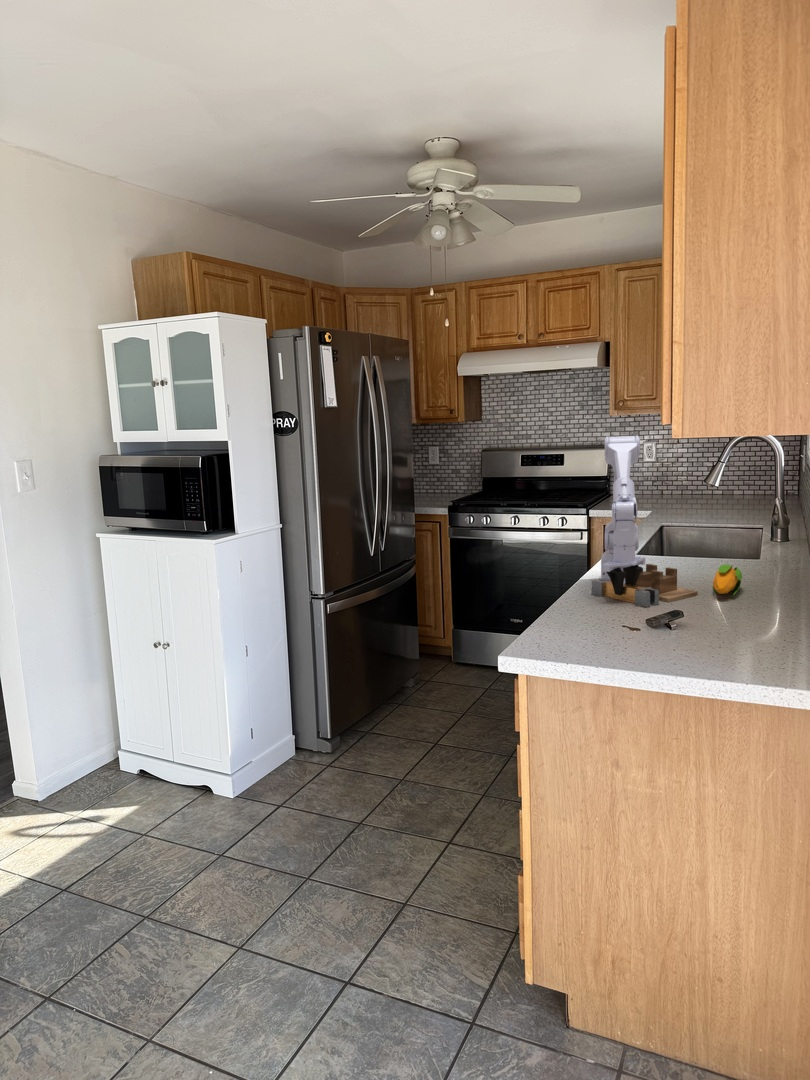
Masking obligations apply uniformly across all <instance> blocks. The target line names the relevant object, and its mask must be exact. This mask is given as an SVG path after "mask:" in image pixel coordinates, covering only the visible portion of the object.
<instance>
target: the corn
mask: <svg viewBox="0 0 810 1080" xmlns="http://www.w3.org/2000/svg"><path fill="white" fill-rule="evenodd" d="M742 579H743V574H742V571H741V570H740V569H739V568H738V566H735V568H733V564H726V563H725V564H722V565H720V566H719V567H718V569H717V571H716V574H715V576H714V578H713V580H712V590H713V592H714V593H715V594H717V595H721V594H723V595H724V594H728V593H730V592H731V591H733V592H732V595H731V597H733V596H734V595H736V594H737V592H738V591H739V589H740V588H741V583H742Z"/></svg>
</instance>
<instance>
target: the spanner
mask: <svg viewBox="0 0 810 1080" xmlns="http://www.w3.org/2000/svg"><path fill="white" fill-rule="evenodd" d="M600 578H601V577H600ZM591 595H593V596H597V597H601V598H602V597H607V598H610V599H616V600H619V601H622V602H623V601H624V602H626V603H631V604H634V605H635V606H639V607H643V608H648V607H649V608H650V607H651V605H652V606H657V605H658V606H659V605H660V600H659V590H658V589H654V588H649V587H647V588H644V587H639V586H635V585H630V584H625V583H623V594H622V595H616V594H615V592H614V588H613V585H612V582H611V579H607V578H601V579H592V580H591Z"/></svg>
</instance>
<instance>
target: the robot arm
mask: <svg viewBox="0 0 810 1080" xmlns="http://www.w3.org/2000/svg"><path fill="white" fill-rule="evenodd" d="M640 450H641V439H640V436H639V435H637V434H636V435H625V436H619V435H618V436H605V438H604V461H605V463H606V464H608V465H611V467H612V469H613V478H614V479H613V485H612V494H613V495H612V497H613V498H612V499H613V500H612V501H613V503H612V504H611V520H610V522H608V523H607V524H605V526H604V550H605V551H604V552H603V553H602V555H601V559H600V570H601V571H600V572H601V573H600V577H599V578H598V580H600V579H601V578H607V579H611V582H612V585H613V588H614V592H615V594H616V595H622V594H623V583H625V584H630V585H636V582H637V579H638V577H639V575H640V573H641V572H642V568H643V565H646V557H644V556H636V552H637V551H638V550H639V542H640V540H639V538H640V537H639V527H638V525H637V523H636V522H637V521H638V502H637V498H636V497H635V496H636V495H635V494H636V493H635V491H636V490H635V482H634V481H633V480H632V479H631V478H630V477H631V466H632V465H634V464H637V463H638V460H639V458H640V453H641V451H640ZM641 565H642V566H641Z"/></svg>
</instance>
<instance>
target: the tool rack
mask: <svg viewBox="0 0 810 1080" xmlns="http://www.w3.org/2000/svg"><path fill="white" fill-rule="evenodd" d="M635 586H639V587H644V588H647V587H649V588H654V589H658V590H659V601H661V602H665V603H671V602H675V601H679V600H683V599H688V598H692V597H695V596H698V595H699V591H698V590H697V591H696V590H694V589H693V590H692V589H687V588H683V587H678V568H674V567H670V566H669V567H665V574H664V571H660V570H658V564H652V563H645V571H644V568H643V567H642V572H641V573H640V575H639V577H638V579H637V582H636V585H635Z"/></svg>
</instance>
